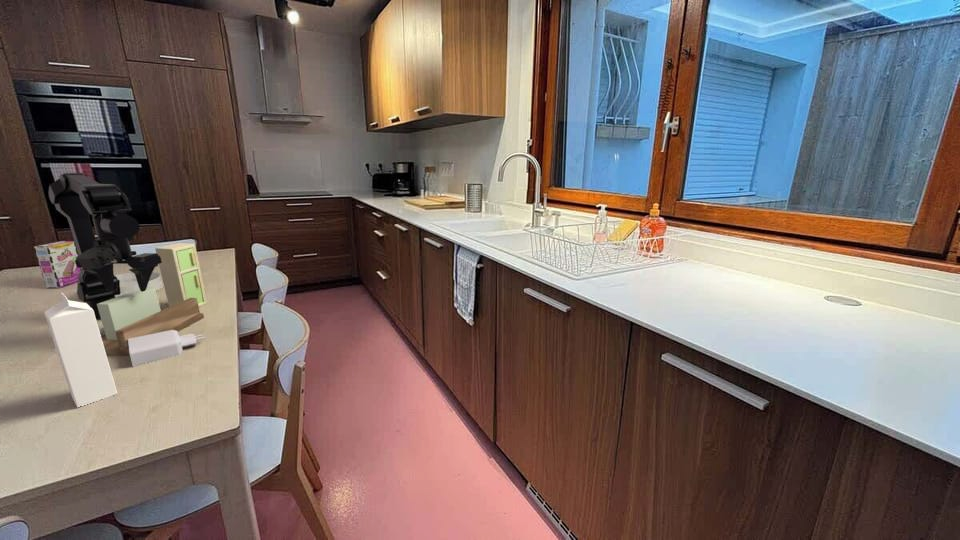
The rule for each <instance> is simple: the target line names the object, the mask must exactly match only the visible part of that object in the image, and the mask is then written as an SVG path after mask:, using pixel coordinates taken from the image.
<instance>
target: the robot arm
mask: <svg viewBox="0 0 960 540" xmlns="http://www.w3.org/2000/svg"><path fill="white" fill-rule="evenodd" d="M48 198H49V200H50V202H51V204H53V205H54V207H55V209H56V211H58V212H59V213H60V214H62V215H63V216H64V217H65V218H67V222H68V224H69V228H70V231H71V234H72V238H73V241H74V243H75V247H76V251H77V254H78V256H77V257H76V260H75V263H76V266H77V268H81V271H80V273H79V275H78V279H79V282H77V285H76V286H77V288H76V295H77V297H78V300H80V301H81V302H82V303H87V304H88V305H89V306H90V307H91V308H92V309H93V311H94V314H95V318H96V320H101V317H100V314H99V310H98V307H97V304H99V303H101V302H104V301H107V300H110V299H113V298H115V295H120V293H121V292H120V280H118V279H117V277H116V276H114V275H115V273H114V265H118V264H119V265H120V264H121V265H123V264H124V265H126V264H127V265H128V266H129V267H131V268H129V269H128V270H129V271H130V273H134V274H135V276H136V279H137V282H138V286H139V288H140V290H141V292H143V291H145V290H146V288H147V285H148V282H149V279H150V277H151V274H152V272H154V270H155V268H156V267H158V266H159V264H160V263H162V261H161V257H160V255H158V254H157V253H156V252H155V253H153V252H151V253H150V252H149V253H148V252H145V253H144V252H143V253H140V254H137V251H136V250H132V249H131V245H130V241H133V240H134V239H133V237H134V236H136V235H137V234H138V233H139V231H140V223H139V222H138V220H137V219H136V218H135V217H133V216H131V215H129V214H127V213H128V212H132V211H133V209H132V203H131V201H130V200H129V199H128V197H127V195H126V194H125V192H123V191H122V189H120V188H119V187H118V186H117V185H116V184H112V183H107V184H106V183H99V182H97V181H96V180H94V179H92V178H91V177H89V176H88V174H87V173H83V172H64V173H61V174H59V178H58V179H56V180H55V181H54V182H51V184H49V186H48ZM90 216H92V217H91V218H92V222H93V225H94V229H95V232H94V230H93V225H92V223H91V219H90ZM95 233H96V236H97V239H96V236H95ZM86 295H87V296H86Z"/></svg>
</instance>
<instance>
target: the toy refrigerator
mask: <svg viewBox="0 0 960 540" xmlns="http://www.w3.org/2000/svg"><path fill="white" fill-rule="evenodd" d="M155 253H157V254H158V255H160V257H161V261H162V263H160V264H158V266H159V270H160V273H161V274H160V276H161V280H162V283H163V288H164V291H165V295H166V300H167V304H168V308H169V307H171V306H173V305H175V304H178V303H180V302H182V301H184V300H187V299H189V298H197V301H198V306H199V308H200V307H203V306H206V305H207V304H208V301H207V296H206V292H205V287H204V281H203V276H202V271H201V266H200V261H199V257H198V253H197V247H196V243H186V242H177V243H172V244H167V245H162V246H158V247H156V248H155Z"/></svg>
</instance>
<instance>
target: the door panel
mask: <svg viewBox="0 0 960 540" xmlns="http://www.w3.org/2000/svg"><path fill="white" fill-rule="evenodd" d="M97 307H98V310H99V314H100V317H101V319H100V320H101V324H102V327H103V328H104V329H103V332H104V331H105V333H104V334H105V335H106V338H107V340H118V339H117V336H116V332H115V331H116V330H119V329H121V328H123V327H125V326H128V325H130V324H132V323H135V322H137V321H139V320H141V319H144V318H146V317H148V316H150V315H153V314H155V313H157V312H159V311H162V310H161V305H160V301H159V296H158V294H157V292H156V288H155V287H147V288H146V290H145V291H143V292H141V290H140V289H138V290H135V291H133V292H130V293H127V294H124V295H121V296H118V297H116V298H113V299H110V300H107V301H104V302H101V303H99V304H97Z"/></svg>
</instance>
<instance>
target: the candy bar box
mask: <svg viewBox="0 0 960 540" xmlns="http://www.w3.org/2000/svg"><path fill="white" fill-rule="evenodd" d="M33 249H34V251H35V255H36V258H37V261H38V264H39V267H40V271H41V274H42V279H43V281H44V285H45V288H46V289H61V288H64V287H68V286H70V285H73V284H76V283H79V279H78V275H79V273H80V271H81V269H82V268H77V266H76V263H75V260H76V257H77V256H79V254H78V251H77V248H76V244H75V241H74V240H73V241H71V240H69V241H68V240H62V241H56V242H55V241H54V242H50V243H46V244H39V245H36V246H33Z"/></svg>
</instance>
